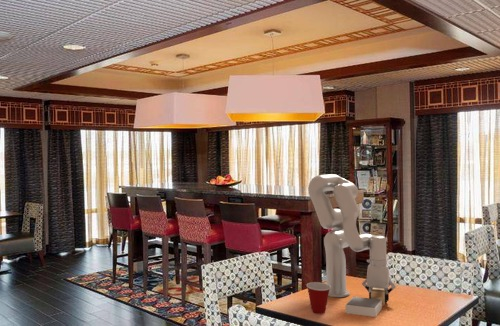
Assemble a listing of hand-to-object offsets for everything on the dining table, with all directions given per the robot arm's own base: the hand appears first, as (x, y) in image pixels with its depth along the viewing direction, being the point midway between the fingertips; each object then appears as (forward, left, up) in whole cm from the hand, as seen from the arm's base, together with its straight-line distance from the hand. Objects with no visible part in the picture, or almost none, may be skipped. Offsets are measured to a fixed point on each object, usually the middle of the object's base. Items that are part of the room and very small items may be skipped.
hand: (378, 300), depth 224 cm
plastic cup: (-21, -24, -1) cm, 32 cm away
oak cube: (0, 0, -1) cm, 1 cm away
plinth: (-4, -14, -1) cm, 15 cm away
